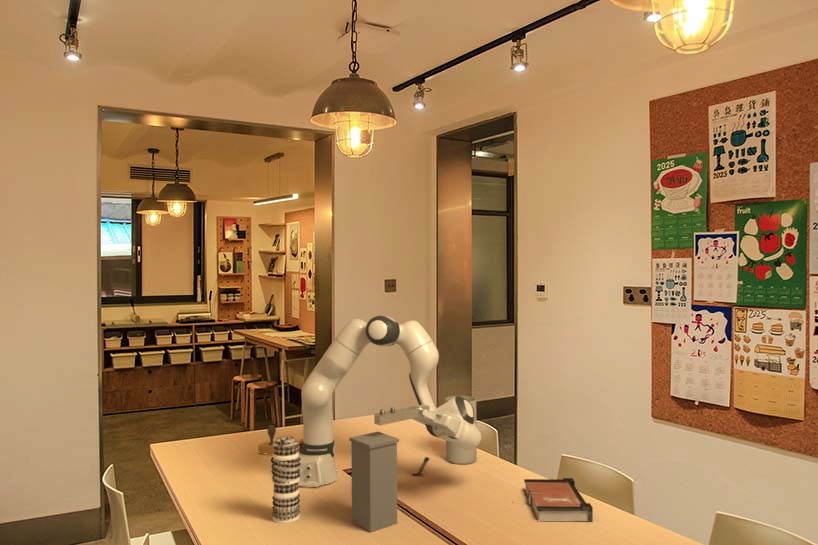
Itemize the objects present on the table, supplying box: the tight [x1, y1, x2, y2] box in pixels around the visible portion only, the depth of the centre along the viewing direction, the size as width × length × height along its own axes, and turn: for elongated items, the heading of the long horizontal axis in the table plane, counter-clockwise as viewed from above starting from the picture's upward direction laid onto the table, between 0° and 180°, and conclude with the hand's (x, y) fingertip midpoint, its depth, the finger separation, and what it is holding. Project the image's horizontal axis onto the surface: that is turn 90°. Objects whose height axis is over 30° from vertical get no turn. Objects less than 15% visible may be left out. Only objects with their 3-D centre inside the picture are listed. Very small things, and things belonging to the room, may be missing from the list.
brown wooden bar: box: [373, 404, 429, 426], centre depth 193 cm, size 20×3×4 cm, turn 129°
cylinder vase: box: [445, 395, 478, 465], centre depth 248 cm, size 12×12×25 cm
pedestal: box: [348, 431, 400, 533], centre depth 187 cm, size 11×11×26 cm
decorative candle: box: [270, 435, 301, 524], centre depth 191 cm, size 9×9×25 cm
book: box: [523, 477, 594, 523], centre depth 200 cm, size 26×18×5 cm
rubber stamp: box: [257, 424, 277, 454], centre depth 259 cm, size 10×6×12 cm, turn 69°
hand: (417, 410), depth 197 cm, fingers closed on brown wooden bar, 3 cm apart
